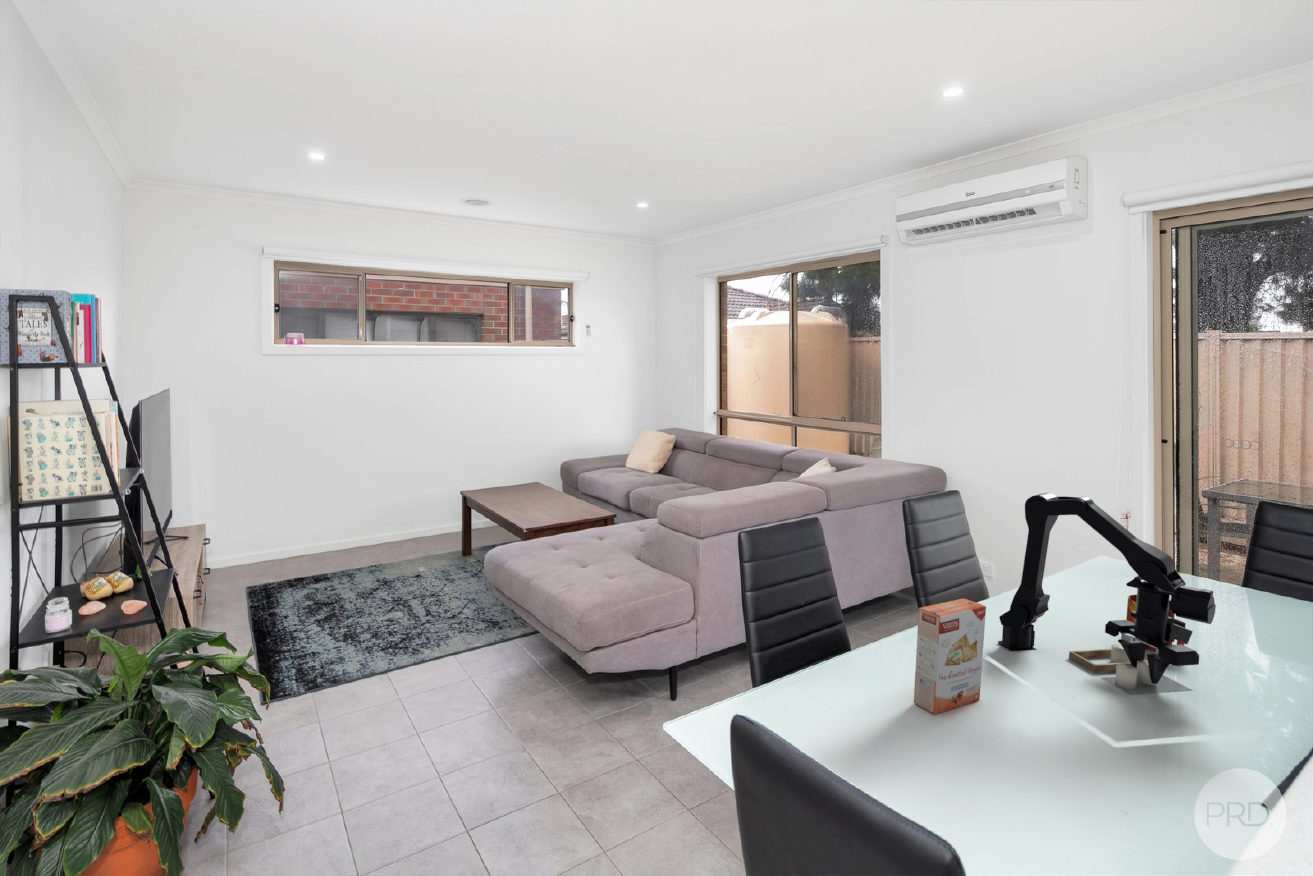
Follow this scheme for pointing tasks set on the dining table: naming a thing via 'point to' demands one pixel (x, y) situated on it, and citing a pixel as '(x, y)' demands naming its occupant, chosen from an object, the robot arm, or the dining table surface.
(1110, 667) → the walnut bin
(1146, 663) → the pebble
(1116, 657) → the pebble
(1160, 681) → the slate board
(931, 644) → the cracker box
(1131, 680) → the white rounded stone
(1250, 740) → the dining table surface
